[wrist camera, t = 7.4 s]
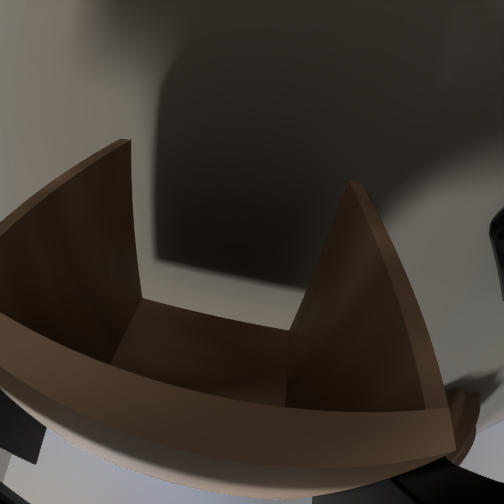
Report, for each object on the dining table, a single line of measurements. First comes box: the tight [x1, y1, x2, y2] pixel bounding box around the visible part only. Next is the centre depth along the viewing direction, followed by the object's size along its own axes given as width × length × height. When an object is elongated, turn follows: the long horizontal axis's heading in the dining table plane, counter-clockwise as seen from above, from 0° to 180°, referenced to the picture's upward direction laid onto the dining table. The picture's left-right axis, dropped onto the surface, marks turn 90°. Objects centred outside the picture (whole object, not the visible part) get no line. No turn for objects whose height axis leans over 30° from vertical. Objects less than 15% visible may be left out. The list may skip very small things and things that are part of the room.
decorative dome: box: [445, 388, 480, 466], centre depth 20 cm, size 19×20×10 cm
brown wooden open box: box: [0, 139, 456, 500], centre depth 7 cm, size 7×7×7 cm
